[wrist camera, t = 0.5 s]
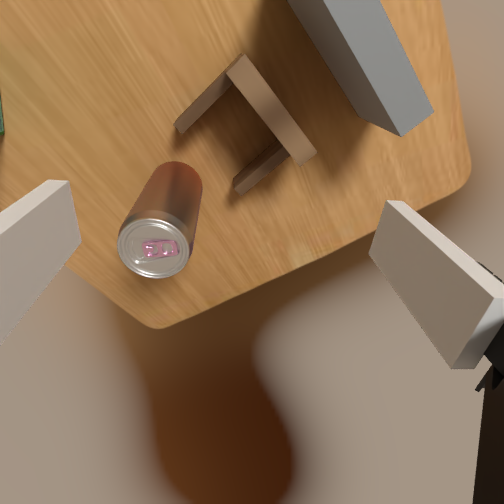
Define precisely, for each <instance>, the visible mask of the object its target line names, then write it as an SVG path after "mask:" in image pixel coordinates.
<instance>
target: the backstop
mask: <svg viewBox="0 0 504 504" xmlns="http://www.w3.org/2000/svg"><path fill="white" fill-rule="evenodd" d="M287 2H288V3H289V5H290V7H291V8H292V10H293V11H294V13H295V15H296V16H297V18H298V20H299V21H300V23H301V24H302V26H303V28H304V29H305V31H306V32H307V34H308V36H309V37H310V39H311V40H312V42H313V44H314V45H315V47H316V48H317V50H318V52H319V53H320V55H321V56H322V58H323V60H324V61H325V63H326V65H327V66H328V68H329V69H330V71H331V73H332V74H333V76H334V77H335V79H336V81H337V82H338V84H339V85H340V87H341V89H342V90H343V92H344V93H345V95H346V97H347V98H348V100H349V101H350V103H351V105H352V106H353V108H354V110H355V111H356V113H357V114H358V116H359V117H360V118H362V119H364V120H366V121H368V122H371V123H373V124H375V125H377V126H379V127H381V128H383V129H385V130H387V131H389V132H391V133H394V134H396V135H398V136H400V137H402V136H404V135H405V134H406V133H407V132H409V131H410V130H411V129H413V128H414V127H415V126H417V125H418V124H419V123H421V122H422V121H423V120H424V119H426V118H427V117H428V116H430V115H431V114H432V113H434V110H433V108H432V106H431V104H430V102H429V100H428V98H427V96H426V94H425V92H424V90H423V88H422V86H421V84H420V82H419V80H418V78H417V75H416V73H415V71H414V69H413V67H412V65H411V63H410V61H409V59H408V57H407V55H406V53H405V51H404V49H403V47H402V45H401V43H400V41H399V39H398V37H397V35H396V33H395V31H394V29H393V27H392V24H391V22H390V20H389V18H388V16H387V14H386V12H385V10H384V8H383V6H382V4H381V2H380V0H287Z"/></svg>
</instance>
